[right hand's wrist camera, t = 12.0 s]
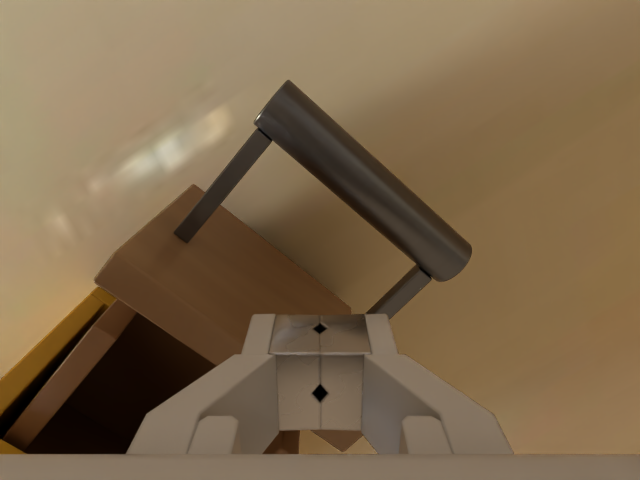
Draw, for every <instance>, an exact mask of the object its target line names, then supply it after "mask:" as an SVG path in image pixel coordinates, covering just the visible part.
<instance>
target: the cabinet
mask: <svg viewBox="0 0 640 480" xmlns="http://www.w3.org/2000/svg"><path fill="white" fill-rule="evenodd" d="M115 300H116V298H115V297H113V296H112V295H111V294H109V293H108V292H106V291H105V290H103V289H102V288H100V287H97V288H95V289H94V290H93V291H92V292H91V293H90V294H89V295H88V296H87V297H86V298H85V299H84V300H83V301H82V302H81V303H80V304H79V305H78V306H77V307H76V308H75V309H74V310H73V311H71V312H70V313H69V314H68V315H67V316H66V317H65V318H64V319H63V320H62V321H61V322H60V323H59V324H58V325H57V326H56V327H55V328H54V329H53V330H52V331H51V332H50V333H48V334H47V335H46V336H45V337H44V338H43V339H42V340H41V341H40V342H39V343H38V344H37V345H36V346H35V347H34V348H33V349H32V350H31V351H30V352H29V353H28V354H26V355H25V356H24V357H23V358H22V359H21V360H20V361H19V362H18V363H17V364H16V365H15V366H14V367H13V368H12V369H11V370H10V371H9V372H8V373H7V374H6V375H5V376H3V377H2V378H1V379H0V454H26V453H25V452H23V451H21V450H19V449H17V448H16V447H14V446H12V445H10V444H9V443H7V442H5V441H3V440H1V439H2V438H3V437H4V435H5V434H6V433H7V432H8V430H9V429H10V428H11V427H12V425H13V424H14V423H15V422H16V420H17V419H18V418H19V417H20V415H21V414H22V413H23V412H24V410H25V409H26V408H27V407H28V405H29V404H30V403H31V402H32V400H33V399H34V398H35V397H36V395H37V394H38V393H39V392H40V390H41V389H42V388H43V387H44V385H45V384H46V383H47V382H48V380H49V379H50V378H51V377H52V375H53V374H54V373H55V372H56V370H57V369H58V368H59V367H60V365H61V364H62V363H63V362H64V360H65V359H66V358H67V357H68V355H69V354H70V353H71V352H72V350H73V349H74V348H75V347H76V345H77V344H78V343H79V342H80V340H81V339H82V338H83V337H84V335H85V334H86V333H87V332H88V330H89V329H90V328H91V327H92V325H93V324H94V323H95V322H96V321H97V320H98V319H99V318H100V316H101V315H102V314H103V313H104V312H105V311H106V310H107V309H108V308H109V306H110V305H111V304H112V303H113V302H114V301H115Z"/></svg>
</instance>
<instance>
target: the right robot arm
mask: <svg viewBox="0 0 640 480" xmlns="http://www.w3.org/2000/svg"><path fill="white" fill-rule="evenodd" d="M319 429H320V430H356V431H361V433H362V434H363V435H364V437H365V438H366V439H367V440H368V442H369V443H370V444H371V445H372V447H373V448H374V449H375V450H376V452H377V453H378V454H262V453H263V452H264V451H265V450H266V448H267V447H268V446H269V445H270V443H271V442H272V441H273V440H274V438H275V437H276V436H277V435H278V433H279V431H284V430H319ZM0 480H640V454H514V452H513V450H512V448H511V446H510V445H509V443H508V441H507V439H506V437H505V435H504V433H503V431H502V429H501V427H500V425H499V423H498V421H497V419H496V417H495V415H494V414H493V413H491V412H490V411H488V410H487V409H485V408H484V407H482V406H481V405H479V404H478V403H476V402H475V401H473V400H472V399H471V398H469V397H468V396H466V395H465V394H463V393H462V392H460V391H459V390H457V389H456V388H454V387H453V386H451V385H450V384H448V383H447V382H445V381H444V380H442V379H441V378H440V377H438V376H437V375H435V374H434V373H432V372H431V371H429V370H428V369H426V368H425V367H423V366H422V365H420V364H419V363H417V362H416V361H414V360H413V359H411V358H410V357H408V356H407V355H406V354H399V353H398V349H397V346H396V342H395V339H394V335H393V332H392V329H391V325H390V322H389V318H388V315H387V314H351V315H296V314H277V315H276V314H254V315H253V316H252V318H251V321H250V325H249V328H248V332H247V335H246V339H245V342H244V346H243V349H242V353H241V354H234V355H233V356H232V357H230V358H229V359H227V360H226V361H224V362H223V363H221V364H220V365H218V366H217V367H215V368H214V369H212V370H211V371H209V372H208V373H206V374H205V375H203V376H202V377H200V378H199V379H197V380H196V381H194V382H193V383H191V384H190V385H188V386H187V387H186V388H184V389H183V390H181V391H180V392H178V393H177V394H175V395H174V396H172V397H171V398H169V399H168V400H166V401H165V402H163V403H162V404H160V405H159V406H157V407H156V408H154V409H153V410H151V411H150V412H148V413H147V414H146V416H145V418H144V420H143V422H142V423H141V425H140V427H139V429H138V431H137V433H136V435H135V437H134V439H133V441H132V443H131V445H130V447H129V448H128V450H127V452H126V454H0Z"/></svg>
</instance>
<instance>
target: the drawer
mask: <svg viewBox="0 0 640 480" xmlns="http://www.w3.org/2000/svg"><path fill="white" fill-rule="evenodd" d="M254 125H256V126H257V127H258V128H257V129H256V130H255V132H254V133H253V134H252V135H251V136H250V138H249V139H248V140H247V141H246V143H245V144H244V145H243V146H242V148H241V149H240V150H239V151H238V153H237V154H236V155H235V156H234V158H233V159H232V160H231V161H230V163H229V164H228V165H227V166H226V168H225V169H224V170H223V171H222V172H221V174H220V175H219V176H218V177H217V179H216V180H215V181H214V182H213V184H212V185H211V186H210V187H209V189H208V190H207V191H206V192H204V191H202V190H201V189H200V188H199V187H197V186H196V185H194V184H193V185H191V186H190V187H189V188H188V189H187V190H186V191H184V192H183V193H182V194H181V195H180V196H179V197H178V198H176V199H175V200H174V201H173V202H172V203H171V204H169V205H168V206H167V207H166V208H165V209H164V210H163V211H161V212H160V213H159V214H158V215H157V216H156V217H154V218H153V219H152V220H151V221H150V222H149V223H148V224H146V225H145V226H144V227H143V228H142V229H141V230H139V231H138V232H137V233H136V234H135V235H134V236H133V237H131V238H130V239H129V240H128V241H127V242H126V243H124V244H123V245H122V246H121V247H120V248H119V249H118V250H116V251H115V252H114V253H113V254H112V256H111V257H110V258H109V260H108V261H107V262H106V264H105V265H104V266H103V267H102V269H101V270H100V271H99V273H98V274H97V275H96V277H95V278H94V282H95V283H96V284H97V285H99V286H100V287H102V288H103V289H104V290H106V291H107V292H109V293H110V294H112V295H113V296H115V297H116V298H117V299H116V300H115V301H114V302H113V303H112V304H111V305H110V306H109V308H108V309H107V310H106V311H105V312H104V313H103V314H102V315H101V316H100V318H99V319H98V320H97V321H96V322H95V323H94V324H93V325H92V327H91V328H90V329H89V330H88V332H87V333H86V334H85V335H84V337H83V338H82V339H81V340H80V342H79V343H78V344H77V345H76V347H75V348H74V349H73V350H72V352H71V353H70V354H69V355H68V357H67V358H66V359H65V360H64V362H63V363H62V364H61V365H60V367H59V368H58V369H57V370H56V372H55V373H54V374H53V375H52V377H51V378H50V379H49V380H48V382H47V383H46V384H45V385H44V387H43V388H42V389H41V390H40V392H39V393H38V394H37V395H36V397H35V398H34V399H33V400H32V402H31V403H30V404H29V405H28V407H27V408H26V409H25V410H24V412H23V413H22V414H21V415H20V417H19V418H18V419H17V420H16V422H15V423H14V424H13V425H12V427H11V428H10V429H9V430H8V432H7V433H6V434H5V435H4V437H3V438H2V439H1V440H3V441H5V442H7V443H9V444H10V445H12V446H14V447H16V448H17V449H19V450H21V451H23V452H25V453H26V454H126V452H127V450H128V448H129V447H130V445H131V443H132V441H133V439H134V437H135V435H136V433H137V431H138V429H139V427H140V425H141V423H142V422H143V420H144V418H145V416H146V414H147V413H148V412H150V411H151V410H153V409H154V408H156V407H157V406H159V405H160V404H162V403H163V402H165V401H166V400H168V399H169V398H171V397H172V396H174V395H175V394H177V393H178V392H180V391H181V390H183V389H184V388H186V387H187V386H188V385H190V384H191V383H193V382H194V381H196V380H197V379H199V378H200V377H202V376H203V375H205V374H206V373H208V372H209V371H211V370H212V369H214V368H215V367H217V366H218V365H220V364H221V363H223V362H224V361H226V360H227V359H229V358H230V357H232V356H233V355H234V354H241V353H242V349H243V346H244V342H245V339H246V335H247V332H248V328H249V325H250V321H251V318H252V316H253V315H254V314H276V315H277V314H296V315H351V308H350V307H349V306H348V305H347V304H345V303H344V302H343V301H342V300H340V299H339V298H338V297H337V296H335V295H334V294H333V293H332V292H330V291H329V290H328V289H326V288H325V287H324V286H323V285H321V284H320V283H319V282H318V281H316V280H315V279H314V278H313V277H311V276H310V275H309V274H307V273H306V272H305V271H304V270H302V269H301V268H300V267H299V266H297V265H296V264H295V263H294V262H292V261H291V260H290V259H288V258H287V257H286V256H285V255H283V254H282V253H281V252H280V251H278V250H277V249H276V248H275V247H273V246H272V245H271V244H269V243H268V242H267V241H266V240H264V239H263V238H262V237H261V236H259V235H258V234H257V233H256V232H254V231H253V230H252V229H250V228H249V227H248V226H247V225H245V224H244V223H243V222H242V221H240V220H239V219H238V218H237V217H235V216H234V215H233V214H231V213H230V212H229V211H228V210H226V209H225V208H224V207H223V206H221V205H220V204H221V203H222V202H223V200H224V199H225V198H226V197H227V195H228V194H229V193H230V192H231V191H232V189H233V188H234V187H235V186H236V185H237V183H238V182H239V181H240V180H241V179H242V177H243V176H244V175H245V174H246V172H247V171H248V170H249V169H250V168H251V166H252V165H253V164H254V163H255V162H256V160H257V159H258V158H259V157H260V155H261V154H262V153H263V152H264V151H265V149H266V148H267V147H268V146H269V145H270V143H271V142H272V141H274V142H275V143H276V144H278V145H279V146H280V147H281V148H282V149H283V150H285V151H286V152H287V153H288V154H289V155H290V156H292V157H293V158H294V159H295V160H296V161H297V162H299V163H300V164H301V165H302V166H303V167H304V168H305V169H307V170H308V171H309V172H310V173H311V174H312V175H314V176H315V177H316V178H317V179H318V180H319V181H321V182H322V183H323V184H324V185H325V186H326V187H328V188H329V189H330V190H331V191H332V192H333V193H335V194H336V195H337V196H338V197H339V198H340V199H342V200H343V201H344V202H345V203H346V204H347V205H349V206H350V207H351V208H352V209H353V210H354V211H355V212H357V213H358V214H359V215H360V216H361V217H362V218H364V219H365V220H366V221H367V222H368V223H369V224H371V225H372V226H373V227H374V228H375V229H376V230H378V231H379V232H380V233H381V234H382V235H383V236H385V237H386V238H387V239H388V240H389V241H390V242H392V243H393V244H394V245H395V246H396V247H397V248H398V249H400V250H401V251H402V252H403V253H404V254H405V255H407V256H408V257H409V258H410V259H411V260H412V261H414V262H415V263H416V265H415V266H414V267H413V268H412V269H411V270H410V271H409V272H408V273H407V274H406V275H405V276H404V277H403V278H402V279H401V280H400V281H399V282H398V283H397V284H396V285H395V286H394V287H392V288H391V289H390V290H389V291H388V292H387V293H386V294H385V295H384V296H383V297H382V298H381V299H380V300H379V301H378V302H377V303H376V304H375V305H374V306H373V307H372V308H371V309H370V310H369V311H368V312H367V313H366V314H387V315H388V318H389V319H390V318H391V317H393V316H394V315H395V314H396V313H397V312H398V311H399V310H400V309H401V308H402V307H403V306H404V305H405V304H406V303H407V302H408V301H410V300H411V299H412V298H413V297H414V296H415V295H416V294H417V293H418V292H419V291H420V290H421V289H422V288H423V287H424V286H425V285H427V284H428V283H429V282H430V281H431V277H432V278H433V279H435V280H436V281H439V282H444V281H447V280H449V279H451V278H453V277H454V276H456V275H457V274H458V273H459V272H460V271H461V270H462V269H463V268H464V267H465V266H466V264H467V263H468V261H469V259H470V257H471V254H472V248H471V245H470V244H469V243H468V242H467V241H466V240H465V239H464V238H462V237H461V236H460V235H459V234H458V233H457V232H456V231H455V230H454V229H453V228H451V227H450V226H449V225H448V224H447V223H446V222H445V221H444V220H443V219H442V218H440V217H439V216H438V215H437V214H436V213H435V212H434V211H433V210H432V209H431V208H429V207H428V206H427V205H426V204H425V203H424V202H423V201H422V200H421V199H420V198H419V197H417V196H416V195H415V194H414V193H413V192H412V191H411V190H410V189H409V188H408V187H406V186H405V185H404V184H403V183H402V182H401V181H400V180H399V179H398V178H397V177H395V176H394V175H393V174H392V173H391V172H390V171H389V170H388V169H387V168H386V167H384V166H383V165H382V164H381V163H380V162H379V161H378V160H377V159H376V158H375V157H373V156H372V155H371V154H370V153H369V152H368V151H367V150H366V149H365V148H364V147H363V146H361V145H360V144H359V143H358V142H357V141H356V140H355V139H354V138H353V137H352V136H350V135H349V134H348V133H347V132H346V131H345V130H344V129H343V128H342V127H341V126H339V125H338V124H337V123H336V122H335V121H334V120H333V119H332V118H331V117H330V116H328V115H327V114H326V113H325V112H324V111H323V110H322V109H321V108H320V107H319V106H318V105H316V104H315V103H314V102H313V101H312V100H311V99H310V98H309V97H308V96H307V95H305V94H304V93H303V92H302V91H301V90H300V89H299V88H298V87H297V86H296V85H294V84H293V83H292V82H291V81H290V80H287V81H286V82H285V83H284V84H283V85H282V86H281V87H280V89H279V90H278V91H277V92H276V93H275V94H274V96H273V97H272V98H271V99H270V101H269V102H268V103H267V104H266V106H265V107H264V108H263V109H262V111H261V112H260V113H259V115H258V116H257V117H256V119H255V120H254ZM430 276H431V277H430ZM311 431H312V432H314V433H315V434H317V435H318V436H320V437H321V438H323V439H324V440H325V441H327V442H328V443H330V444H331V445H333V446H334V447H336V448H337V449H339V450H340V451H342V452H344V451H345V450H346V449H348V448H349V447H350V446H351V445H352V444H353V443H355V442H356V441H357V440H358V439H359V438H360V437H362V436H363V434H362V433H361V431H356V430H320V429H319V430H311ZM299 434H300V430H284V431H279V433H278V435H277V436H276V437H275V438H274V440H273V441H272V442H271V443H270V445H269V446H268V447H267V448H266V450H265V451H264V452H263V453H262V454H298V452H299Z"/></svg>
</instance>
